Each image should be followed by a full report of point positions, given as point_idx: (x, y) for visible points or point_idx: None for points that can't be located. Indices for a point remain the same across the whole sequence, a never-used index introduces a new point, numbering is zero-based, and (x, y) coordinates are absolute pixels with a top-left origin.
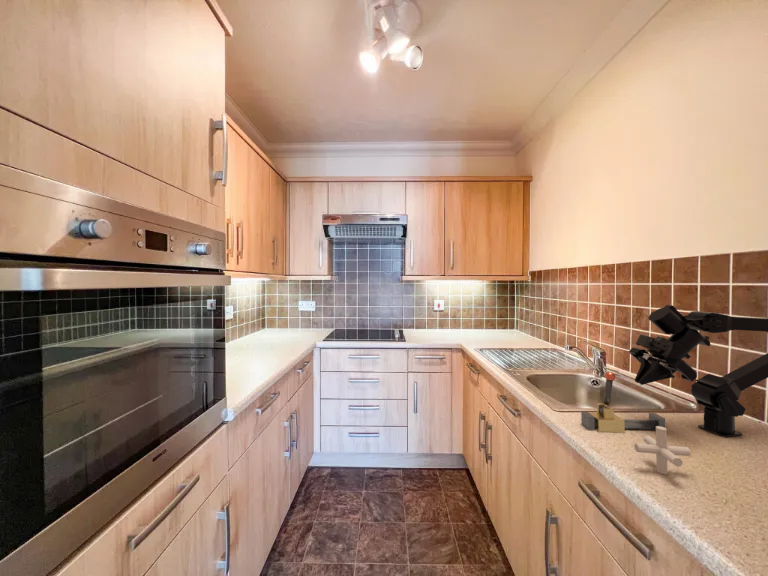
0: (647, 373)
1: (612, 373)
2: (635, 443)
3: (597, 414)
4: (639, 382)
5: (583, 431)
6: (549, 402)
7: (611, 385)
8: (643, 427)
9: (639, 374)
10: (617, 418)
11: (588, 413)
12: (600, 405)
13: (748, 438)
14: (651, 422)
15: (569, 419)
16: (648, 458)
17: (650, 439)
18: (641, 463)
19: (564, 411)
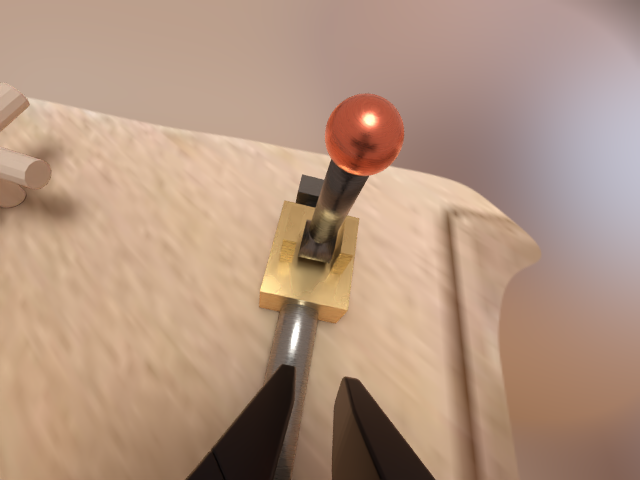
0: (230, 454)
1: (349, 110)
2: (13, 87)
3: None
4: (280, 365)
5: (291, 185)
6: (528, 241)
7: (327, 175)
8: None
9: (361, 433)
10: (283, 278)
11: None
12: (343, 228)
13: None
14: None
15: (380, 206)
16: (84, 227)
17: (4, 151)
18: (73, 186)
19: (448, 236)
